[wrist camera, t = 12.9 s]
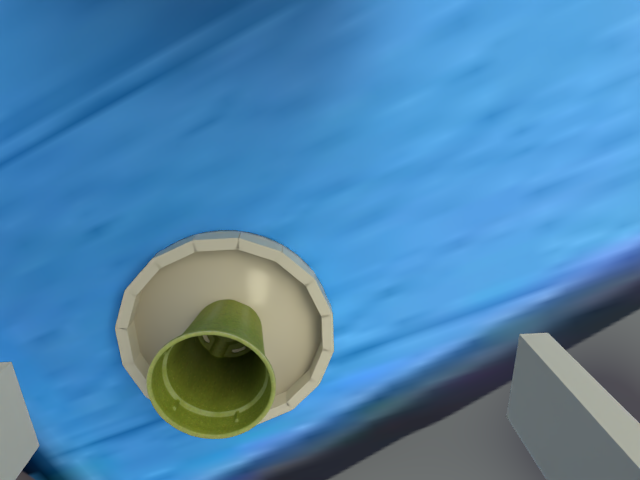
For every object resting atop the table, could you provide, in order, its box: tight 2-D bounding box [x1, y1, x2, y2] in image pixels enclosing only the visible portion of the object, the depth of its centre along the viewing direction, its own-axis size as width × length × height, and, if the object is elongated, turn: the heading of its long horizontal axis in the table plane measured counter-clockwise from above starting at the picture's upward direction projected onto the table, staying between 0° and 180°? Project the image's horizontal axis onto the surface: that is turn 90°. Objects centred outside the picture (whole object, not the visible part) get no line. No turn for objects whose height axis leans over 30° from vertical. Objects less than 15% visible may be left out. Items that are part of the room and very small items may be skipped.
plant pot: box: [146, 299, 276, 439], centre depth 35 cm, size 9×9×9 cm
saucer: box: [115, 230, 334, 424], centre depth 39 cm, size 19×19×2 cm
